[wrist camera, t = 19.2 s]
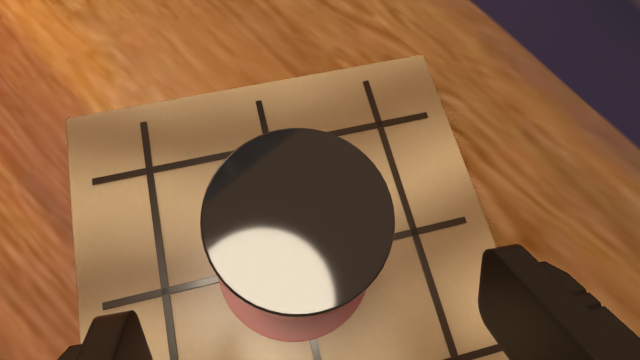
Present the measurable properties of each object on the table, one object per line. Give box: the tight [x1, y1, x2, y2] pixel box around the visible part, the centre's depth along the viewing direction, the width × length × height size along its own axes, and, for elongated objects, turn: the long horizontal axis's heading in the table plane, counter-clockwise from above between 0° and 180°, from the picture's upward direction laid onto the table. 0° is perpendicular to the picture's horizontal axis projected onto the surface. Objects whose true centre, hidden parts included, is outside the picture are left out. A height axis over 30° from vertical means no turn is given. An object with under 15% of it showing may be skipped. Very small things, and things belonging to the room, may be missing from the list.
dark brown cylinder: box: [200, 128, 395, 324], centre depth 15 cm, size 5×5×8 cm
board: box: [66, 55, 509, 360], centre depth 19 cm, size 18×18×2 cm
